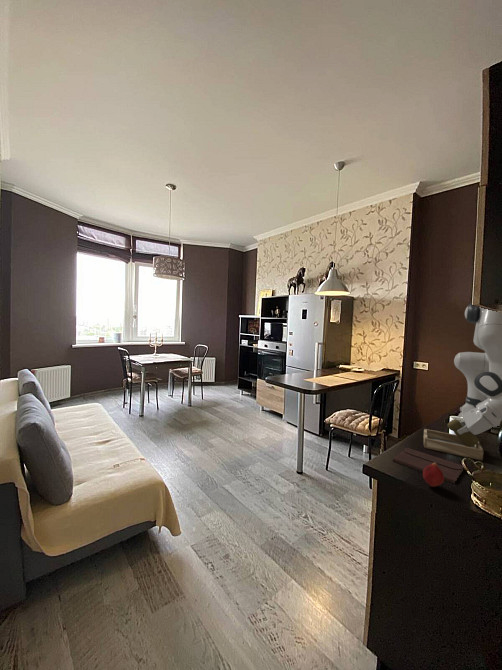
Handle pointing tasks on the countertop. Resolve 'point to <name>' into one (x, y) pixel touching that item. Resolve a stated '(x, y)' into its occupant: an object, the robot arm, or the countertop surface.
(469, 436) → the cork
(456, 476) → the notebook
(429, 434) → the tray
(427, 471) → the onion
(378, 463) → the countertop surface
